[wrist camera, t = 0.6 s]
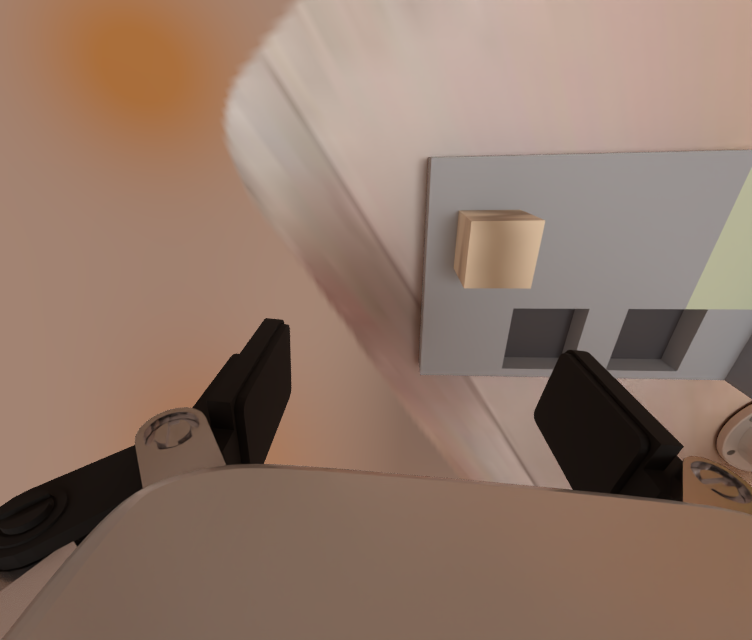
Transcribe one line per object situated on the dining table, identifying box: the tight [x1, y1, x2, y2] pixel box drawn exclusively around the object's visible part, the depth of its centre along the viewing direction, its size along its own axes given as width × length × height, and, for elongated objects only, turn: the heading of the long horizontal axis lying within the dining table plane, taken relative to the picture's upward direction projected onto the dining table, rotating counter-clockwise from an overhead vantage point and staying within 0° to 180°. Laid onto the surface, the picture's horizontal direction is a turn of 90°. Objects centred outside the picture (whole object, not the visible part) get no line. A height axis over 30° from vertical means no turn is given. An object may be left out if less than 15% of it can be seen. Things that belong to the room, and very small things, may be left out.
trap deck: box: [419, 150, 752, 399], centre depth 28 cm, size 32×21×6 cm, turn 91°
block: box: [454, 210, 545, 289], centre depth 25 cm, size 5×5×5 cm
